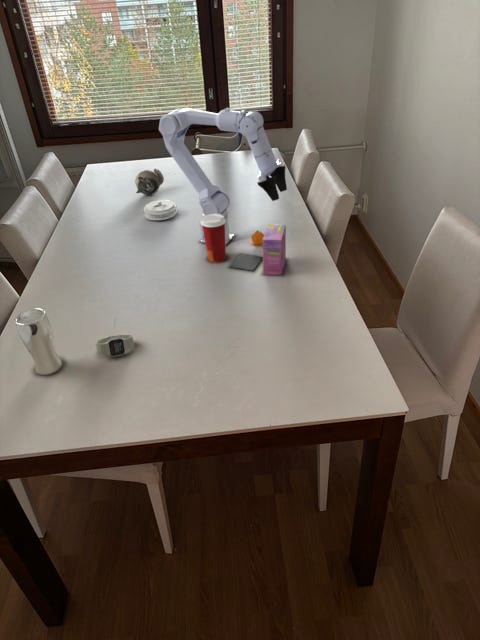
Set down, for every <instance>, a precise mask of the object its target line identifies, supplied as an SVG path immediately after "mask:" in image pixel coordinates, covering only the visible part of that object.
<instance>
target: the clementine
mask: <svg viewBox="0 0 480 640" xmlns="http://www.w3.org/2000/svg"><path fill="white" fill-rule="evenodd" d="M264 234H265V233H263V232H262V231H260V230H257V229H256V230H255V231H254V232H252V234H251V237H250V239H251V242H252V243H253V245H254V246H257V247H259V246H263V237H264Z"/></svg>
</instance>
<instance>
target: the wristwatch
mask: <svg viewBox="0 0 480 640" xmlns="http://www.w3.org/2000/svg"><path fill="white" fill-rule="evenodd" d="M133 347H135V344H134V338H133V334H131V333H122V334H111V335H108V336H106V337H103V338H100V339H99V340H97V341H95V348H96V352H97V354H99V355H106V356H111V357H113V358H116V357H119V356H124V354H125V353H126V352H127V351H129V350H130V349H132V348H133Z"/></svg>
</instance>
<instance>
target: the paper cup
mask: <svg viewBox="0 0 480 640" xmlns="http://www.w3.org/2000/svg"><path fill="white" fill-rule="evenodd" d="M225 222H226V220H225V219H224V217H223V216H222V215H220V214H209V215H206V216H204V217H203V218H202V221H201V222H200V221H199V224H200V223H201V225H202V227H203V232H204V238H205V249H206V253H207V258H208V261H209V262H211V263H222V262H223V261H225V260H226V245H225Z"/></svg>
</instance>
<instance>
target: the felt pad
mask: <svg viewBox="0 0 480 640" xmlns="http://www.w3.org/2000/svg"><path fill="white" fill-rule="evenodd" d="M262 261H263V256H257V255H252V254H251V255H250V254H243V253H240V254H239V255H238V256H237V257H236V259H234V261H233V262H232V263H231V264H230V266H229V269H236V270H243V271H250V272H254V271H255V270H256V268H257V267H258V266H259V265H260V263H261V262H262Z"/></svg>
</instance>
